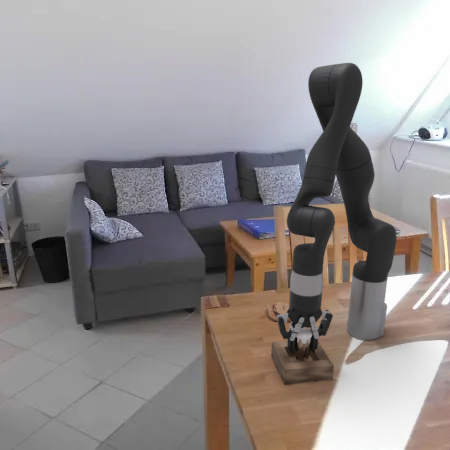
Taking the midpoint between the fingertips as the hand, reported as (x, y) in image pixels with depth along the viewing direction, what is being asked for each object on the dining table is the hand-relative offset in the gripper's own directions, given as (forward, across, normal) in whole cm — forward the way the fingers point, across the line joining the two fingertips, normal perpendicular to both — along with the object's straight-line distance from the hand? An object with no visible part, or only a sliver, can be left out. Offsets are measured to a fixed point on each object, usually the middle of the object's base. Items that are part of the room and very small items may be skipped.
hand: (302, 350), depth 120 cm
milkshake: (+4, 0, 0) cm, 4 cm away
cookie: (+5, -3, -27) cm, 28 cm away
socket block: (+5, 0, 0) cm, 5 cm away
